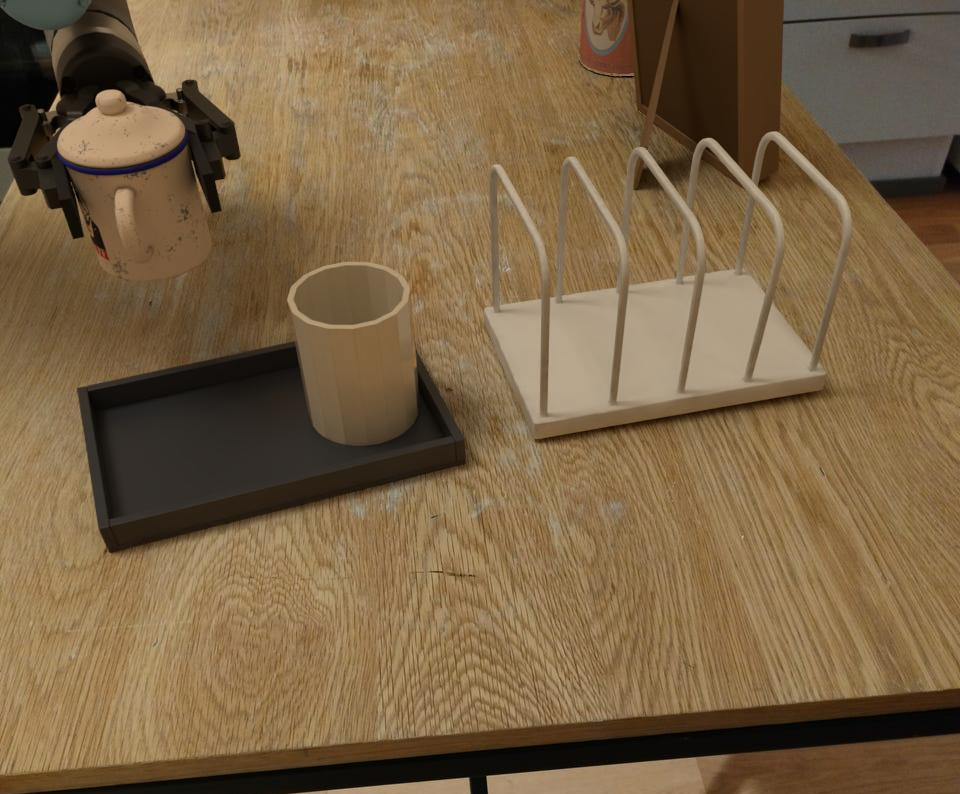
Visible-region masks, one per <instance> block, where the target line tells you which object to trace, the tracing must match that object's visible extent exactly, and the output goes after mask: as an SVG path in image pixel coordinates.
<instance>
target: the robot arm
mask: <svg viewBox="0 0 960 794" xmlns="http://www.w3.org/2000/svg"><path fill="white" fill-rule="evenodd" d="M0 8H1V9H2V10H3V11H4V12H5V14H7V15H8V16H9V17H11V18H12V19H13V20H15V21H17V22H18V23H20V24H22V25H25V26H27V27H29V28H33V29H36V30H41V31H43V34H44V35H45V41H46V44H47V46H48V50H49V51H50V52H49V53H50V56H51V60H52V61H51V62H52V68H53V72H54V77H55V82H56V85H57V91H58V94H59V98H60V100H58V102H57V103H56V105H55V110H51V111H45V109H44V108H38V109H37V108H36V106H35V105H34V104H31V103H26V104H23V105H20V106H19V107H18V111H19V113H20V116H21V123H20V125H19V127H18V130H17V132H16V136H15V138H14V141H13V144H12V146H11V149H10V152H9V154H8V156H7V163H8V165H9V168H10V170H11V173H12V177H13V178H14V181H15V183H16V186H17V188H18V191H19V194H20V195H21V196H23V197H29V196H33V195H35V194H37V193H38V190H40V191H41V193H42V195H43V198H44V201H45V203H46V206H47V208H49V209H50V211H52V210H57V209H61V210H62V213H63V216H64V218H65V220H66V223H67V226H68V229H69V231H70V234H71V237H72V240H76V239H81V238H85V234H84V229H83V225H82V220H81V216H80V211H79V204H78V200H77V197H76V195H75V192H74V189H73V186H72V183H71V180H70V178H69V175H68V172H67V169H66V166H65V165H64V164H63V163H62V162H61V161H60V159H59V157H58V154H57V149H58V148H57V142H58V138H59V135H60V134H61V132H62V131H63V129H64V128H65V127H66V126H68V125H69V124H70V123H72V122H73V121H75V120H76V119H78V118H80V117H82V116H85V115H86V114H87V113H88V112H89V111H91V110H92V109H94V108H96V107H97V105H96V101H95V99H96V96H97V94H99V93H100V92H102V91H105V90H118V91H120V92H122V93H123V94H124V96H125V98H126V102H132V103H136V104H139V105H141V106H151V107H157V108H161V109H164V110H167V111H169V112H171V113H173V114H174V115H176V116H177V117H178V118H179V119H180V120H181V121H182V123H183V124H184V126H185V128H186V129H187V131H188V135H189V139H188V143H187V145H188V149H189V153H190V157H191V161H192V165H193V169H194V173H195V176H196V179H197V180H198V183H199V185H200V188H201V190H202V193H203V196H204V198H205V200H206V202H207V205H208V208H209V211H210V213H211V214H215V213H220V212H221V213H222V212H223V209H222V205H221V201H220V197H219V192H218V187H217V182H216V181H221V180H225V179H226V176H227V175H226V170H225V165H224V160H223V158H224V159H225V160H227V161H236V160H239V159H240V158H241V157H242V155H241V149H240V145H239V139H238V136H237V130H236V126H235V125H236V124H235V122H234V120H232V119H231V117H229V116H228V115H226V113H224V112H223V111H222V110H221V109H220V108H219V107H217V106H216V105H215V103H213V102H212V101H211V100H210V99H209V98H207V97H206V96H205V95H204V94H203V93H202V92H200V88H199V84H198V81H197V80H196V79H191V78H189V79H185V80H183V81H182V82H181V87H176V89H175V91H174V92H166V91H165V89H164V88H162V86H159V85H157V84H156V82H155V80H154V78H153V75H152V72H151V70H150V68H149V67H150V66H149V65H148V62H147V60H146V57H145V54H144V52H143V50H142V47H141V45H140V43H139V40H138V37H137V33H136V30H135V26H134V22H133V20H132V16H131V12H130V9H129V5H128V1H127V0H0Z"/></svg>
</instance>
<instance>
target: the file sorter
mask: <svg viewBox="0 0 960 794" xmlns="http://www.w3.org/2000/svg"><path fill="white" fill-rule="evenodd" d="M771 140H773V141H775V142H776V143H777V144H778V145H779V148H781V150H782V151H783V152H784V153H785V154H786V155H787V156H788V157H789V158H790V159H791V160H792V161H793V162H794V163H795V165H797V166H798V167H799V168H800V169H801V170H802V171H803V172H804V173H805V174H806V175H807V176H808V177H809V178H810V179H811V180H812V181H813V182H814V183H815V184H816V186H817V187H819V188H820V190H821V191H822V192H824V193H825V194H826V195H827V196H828V198H829V199H830V200H831V201H833V202H834V204H835V206H836V207H837V209H838V212H839V215H840V219H841V223H842V233H841V243H840V247H839V251H838V254H837V260H836V263H835V266H834V268H833V269H834V270H833V274H832V277H831V281H830V286H829V289H828V293H827V297H826V301H825V304H824V308H823V312H822V315H821V319H820V323H819V327H818V329H817V334H816V337H815V341H814V344H813V345H814V346H813V348H812V351H811V349H810V348H809V347H808V346H807V345H806V343H805V342H804V341H803V340H802V338H801V337H800V336H799V335H798V334H797V332H796V331H795V330H794V329H793V327H792V326H791V324H789V322H788V321H787V319H786V318H785V317H784V316H783V315H782V313H781V312H780V311H779V309H778V308H777V307H776V305H775V304H774V303H773V301H774V297H775V294H776V289H777V286H778V282H779V277H780V274H781V270H782V266H783V262H784V257H785V251H786V235H785V228H784V223H783V220H782V218H781V215H780V213H779V210H778V209H777V208H776V206H775V205H774V204H773V203H772V201H770V200H769V199H768V197H767V196H766V195H765V194H764V193H763V191H761V189H760V188H759V182H760V181H759V178H760V172H761V167H762V162H763V157H764V153H765V149H766V147H767V145H768V143H769V142H770V141H771ZM706 147H708V148H710V149H711V151H712V152H713V153H714V154H715V155H716V156H717V157H718V158H719V160H720V161H721V162H722V163H723V164H724V165H725V166H726V167H727V168H728V170H729V171H730V172H731V173H732V174H733V176H734V177H736V179H737V180H738V181H739V182H740V183H741V184H742V186H743V187H744V188H745V189H744V188H743V189H744V190H746V192H747V193H748V196H747V202H746V205H745V206H746V207H745V213H744V218H743V223H742V229H741V235H740V240H739V245H738V251H737V255H736V256H737V257H736V262H735V268H731V269H724V270H717V271H711V272H706V263H707V252H706V251H707V250H706V244H705V243H706V242H705V237H704V233H703V230H702V227H701V225H700V222H699V220H698V219H697V217H696V216H695V214H694V212H693V211H694V205H695V198H696V192H697V191H696V190H697V184H698V178H699V170H700V163H701V159H702V158H701V156H702V153H703V151H704V149H705V148H706ZM639 156H640V157H641V158H642V160H643V161H644V165H645V166H646V167H647V168H648V169H649V171H650V172H651V174H652V175H653V177H654V178H655V179H656V180H657V182H658V183H659V185H660V186H661V188H662V190H664V192H665V193H666V195H667V196H668V197H669V199H670V200H671V202H672V203H673V204H674V206H675V207H676V209H677V210H678V213H680V215H681V216H682V217H683V224H682V232H681V239H680V245H679V253H678V260H677V269H676V276H675V277H673V278H667V279H666V278H665V279H660V280H653V281H647V282H641V283H634V284H630V259H629V252H628V244H629V234H630V225H631V224H630V223H631V221H630V220H631V213H632V203H633V196H634V188H633V186H634V174H635V167H636V162H637V159H638V157H639ZM691 160H692V161H691V166H690V173H689V181H688V188H687V194H686V200H684V198H683V197H682V196H681V194H680V193H679V191H678V190H677V189H676V187H675V186H674V185H673V183H672V182H671V181H670V179H669V178H668V176H667V175H666V173H665V172H664V171H663V169H662V168H661V167H660V166H659V164H658V162H657V161H656V160H655V158H654V157H653V155H652V154H651V153H650V152H649V150H647V149H646V148H644V147H640V146H638V147H635V148H634V149H633V150H632V151H631V153H630V155H629V157H628V161H627V168H626V177H625V187H624V198H623V209H622V218H621V219H622V221H621V228H620V226H619V225H618V222H617V221H616V219H615V218H614V216H613V214H612V213H611V211H610V209H609V208H608V206H607V205H606V203H605V201H604V200H603V198H602V196H601V195H600V194H599V193H600V192H598V190H597V189H596V186H594V183H593V182H592V181H591V179H590V176H589V175H588V173H587V171H586V170H585V169H584V167H583V165H582V164H581V162H580V160H579V159H578V158H577V157H576V156H572V155H571V156H568V157H566V158H565V159H564V161H563V163H562V167H561V172H560V186H559V187H560V189H559V191H560V192H559V206H558V207H559V209H558V229H557V230H558V231H557V233H558V234H557V251H556V252H557V253H556V254H557V255H556V273H555V275H556V276H555V277H556V278H555V296H551V275H550V274H551V273H550V266H549V260H548V254H547V251H546V248H545V243H544V241H543V238H542V236H541V234H540V232H539V230H538V228H537V226H536V225H535V223H534V221H533V220H532V218H531V216H530V214H529V212H528V210H527V208H526V206H525V205H524V203H523V201H522V199H521V197H520V195H519V194H518V192H517V190H516V188H515V187H514V185H513V183H512V181H511V179H510V178H509V176H508V174H507V172H506V171H505V169H504V167H503V165H501V164H500V163H497V164H492V165H491V167H490V170H489V173H488V174H489V176H488V191H489V192H488V197H489V201H488V202H489V224H490V225H489V227H490V251H491V252H490V257H491V258H490V259H491V286H492V287H491V288H492V306H491V305H490V306H486V307H484V310H483V325H484V328H485V329H486V331H487V334H488V337H489V338H490V341H491V343H492V346H493V348H494V350H495V353H496V355H497V357H498V360H499V362H500V364H501V367H502V368H503V371H504V374H505V376H506V379H507V380H508V383H509V385H510V388H511V390H512V392H513V394H514V397H515V398H516V402H517V404H518V406H519V408H520V411H521V413H522V415H523V418H524V420H525V423H526V425H527V427H528V430H529V433H530V435H531V437H532V438H533V439H534V440H541V439H546V438H552V437H558V436H564V435H568V434H573V433H574V434H575V433H580V432H586V431H592V430H598V429H602V428H607V427H608V428H609V427H613V426H619V425H620V426H621V425H626V424H632V423H637V422H638V423H639V422H643V421H644V422H645V421H649V420H655V419H660V418H667V417H673V416H679V415H684V414H690V413H695V412H701V411H707V410H712V409H717V408H723V407H724V408H725V407H730V406H736V405H742V404H747V403H753V402H759V401H766V400H770V399H776V398H782V397H787V396H788V397H789V396H794V395H799V394H806V393H812V392H817V391H822V390H823V389H824V387H825V383H826V379H827V375H828V372H827V370H826V369H825V368H824V367H823V365H822V364H821V362H820V359H821V354H822V350H823V347H824V343H825V340H826V336H827V333H828V329H829V326H830V323H831V319H832V315H833V311H834V307H835V304H836V299H837V297H838V292H839V289H840V285H841V282H842V278H843V274H844V271H845V267H846V265H847V260H848V257H849V252H850V249H851V243H852V235H853V218H852V212H851V209H850V206H849V203H848V201H847V200H846V198H845V197H844V195H843V194H842V193H841V192H840V191H839V190H838V189H837V188H836V187H835V186H834V185H833V184H832V183H831V182H830V181H829V180H828V179H827V178H826V177H825V176H824V175H823V174H822V173H821V172H820V170H818V169H817V168H816V167H815V166H814V164H812V163H811V161H810V160H808V158H807V157H806V156H804V155H803V154H802V153H801V152H800V151H799V150H798V149H797V148H796V147H795V146H794V145H793V144H792V143H791V142H790V141H789V140H788V139H787V138H786V136H784V135H783V134H781V132H780V133H779V132H775V131H774V132H769V133H767V134H765V135H764V136H763V137H762V139H761V141H760V143H759V146H758V149H757V153H756V158H755V163H754V168H753V174H752V180H751V179H750V178H749V177H748V176H747V175H746V174H745V173H744V171H743V170H742V169H741V168H740V167H739V166H738V165H737V164H736V162H735V161H734V160H733V159H732V158H731V157H730V156H729V155H728V154H727V152H726V151H725V150H724V149H723V148H722V147H721V146H720V145H719V144H718V142H716V141H715V140H714V139H712V138H706V139H702V140H701V141H700V142H699V143H698V145H697V146H696V149H695V152H693V155H692V159H691ZM571 169H572V170H573V171H574V173H575V175H576V177H577V178H578V179H579V181H580V183H581V185H582V186H583V188H584V190H585V191H586V194H587V195H588V197H589V198H590V200H591V201H592V203H593V205H594V207H595V208H596V210H597V211H598V213H599V215H600V216H601V219H602V220H603V222H604V223H605V225H606V227H607V228H608V231H610V233H611V235H612V237H613V239H614V241H615V243H616V247H617V251H618V265H617V274H616V275H617V276H616V286H615V287H609V288H602V289H596V290H589V291H582V292H576V293H571V294H569V293H568V294H564V295H563V293H564V273H565V272H564V271H565V255H566V254H565V252H566V228H567V227H566V226H567V215H568V213H567V212H568V196H569V179H570V172H571ZM498 179H499V181H500V183H501V185H502V187H503V189H504V190H505V192H506V194H507V196H508V197H509V199H510V201H511V203H512V205H513V207H514V209H515V210H516V213H517V214H518V216H519V218H520V220H521V222H522V224H523V225H524V227H525V229H526V231H527V233H528V235H529V237H530V238H531V239H532V242H533V245H534V247H535V250H536V254H537V258H538V261H539V262H538V264H539V271H540V282H541V285H540V286H541V291H540V292H541V294H540V295H541V296H540V297H541V298H537V299H531V300H525V301H518V302H511V303H505V304H504V303H503V304H501V299H500V298H501V284H500V256H499V255H500V252H499V251H500V250H499V249H500V248H499V221H498V220H499V214H498ZM755 203H757V204H758V206H759V207H761V209H762V210H763V211H764V212H765V214H766V215H767V217H768V218H769V220H770V222H771V225H772V228H773V232H774V237H775V249H774V257H773V261H772V266H771V270H770V274H769V278H768V282H767V286H766V290H765V291H764V290H763V289H762V288H761V286H760V285H759V284H758V282H757V281H756V280H755V278H754V277H752V275H751V274H750V273H749V271H748V270H747V269H746V268H745V267H744V263H745V262H744V261H745V256H746V251H747V246H748V241H749V235H750V229H751V224H752V219H753V213H754V209H755ZM690 233H692V235H693V239H694V243H695V249H696V267H695V274H693V275H686V276H684V274H685V269H686V268H685V267H686V262H687V253H688V246H689V239H690Z"/></svg>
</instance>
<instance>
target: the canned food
mask: <svg viewBox="0 0 960 794" xmlns="http://www.w3.org/2000/svg"><path fill="white" fill-rule="evenodd" d="M580 21H581V23H580V38H579V39H580V40H579V41H580V42H579V54H580V56H579V55H578V58H579V57H580V60H581V62H582V63H583V64H584V65H586V66H587V67H589V68H591V69H595V70H597V71H602V72H606V73H617V74H630V73H634V68H633V57H632V47H631V36H630V25H629V14H628V3H627V0H582V3H581V20H580Z"/></svg>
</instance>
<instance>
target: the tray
mask: <svg viewBox="0 0 960 794" xmlns="http://www.w3.org/2000/svg"><path fill="white" fill-rule="evenodd" d="M415 351H416V363H417V376H418V388H419V401H420V403H419V413H418V417H417V419H416V421H415V422H414V424H413V425H412V426H411V427H410V428H409V429H408V430H407V431H406V432H404V433H403V434H401V435H400V436H398V437H396V438H394V439H391V440H389V441H386V442H383V443H379V444H374V445H366V446H353V445H345V444H340V443H337V442H334V441H331V440H329V439H327V438H325V437H324V436H322V435H321V434H320V433H319V432H317V431H316V429H315V428H314V427H313V425H312V423H311V419H310V416H309V413H308V408H307V403H306V398H305V392H304V387H303V382H302V377H301V372H300V366H299V361H298V356H297V351H296V346H295V340H293V341H290V342H283V343H280V344H275V345H269V346H265V347H261V348H256V349H252V350H247V351H242V352H237V353H232V354H228V355H223V356H219V357H215V358H209V359H205V360H199V361H195V362H192V363H186V364H181V365H178V366H173V367H168V368H162V369H158V370H154V371H150V372H149V371H148V372H145V373H144V372H143V373H140V374H135V375H131V376H126V377H121V378H117V379H111V380H107V381H103V382H102V381H101V382H97V383H94V384H88V385H84V386H80V387H77V388H76V392H77V397H78V405H79V411H80V417H81V424H82V430H83V437H84V444H85V450H86V456H87V463H88V469H89V475H90V482H91V488H92V495H93V502H94V507H95V508H94V509H95V514H96V515H95V516H96V521H97V527H98V528H97V529H98V531H99V533H100V535H101V538H102V539H103V542H104V544H105V546H106V549H107V551H108V553H113V552H118V551H121V550H125V549H128V548H133V547H138V546H141V545H144V544H149V543H152V542H158V541H160V540H165V539H168V538H172V537H176V536H180V535H184V534H189V533H194V532H197V531H200V530H205V529H209V528H213V527H217V526H220V525H224V524H225V525H226V524H228V523H233V522H238V521H241V520H245V519H248V518H252V517H256V516H261V515H264V514H269V513H272V512H277V511H281V510H284V509H288V508H292V507H296V506H300V505H301V506H302V505H304V504H309V503H312V502H317V501H320V500H324V499H328V498H333V497H337V496H340V495H345V494H349V493H352V492H356V491H360V490H364V489H368V488H372V487H376V486H381V485H385V484H389V483H391V482H396V481H400V480H405V479H408V478H412V477H416V476H420V475H425V474H428V473H433V472H436V471H441V470H444V469H449V468H452V467H455V466H456V467H457V466H460V465H464V464H466V463H467V456H466V455H467V454H466V453H467V452H466V451H467V450H466V439H465V436H464V434H463V433H462V431H461V429H460V427H459V426H458V424H457V422H456V420H455V418H454V416H453V414H452V413H451V411H450V409H449V407H448V405H447V403H446V402H445V399H444V398H443V397H442V395H441V393H440V391H439V389H438V387H437V385H436V383H435V382H434V380H433V378H432V376H431V374H430V373H429V370H428V369H427V367H426V365H425V364H424V362H423V360H422V358H421V356H420V354H419V352H418V350H417V348H415Z"/></svg>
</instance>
